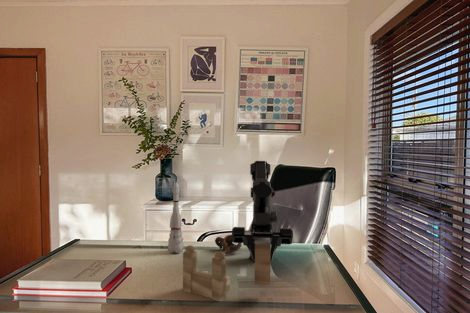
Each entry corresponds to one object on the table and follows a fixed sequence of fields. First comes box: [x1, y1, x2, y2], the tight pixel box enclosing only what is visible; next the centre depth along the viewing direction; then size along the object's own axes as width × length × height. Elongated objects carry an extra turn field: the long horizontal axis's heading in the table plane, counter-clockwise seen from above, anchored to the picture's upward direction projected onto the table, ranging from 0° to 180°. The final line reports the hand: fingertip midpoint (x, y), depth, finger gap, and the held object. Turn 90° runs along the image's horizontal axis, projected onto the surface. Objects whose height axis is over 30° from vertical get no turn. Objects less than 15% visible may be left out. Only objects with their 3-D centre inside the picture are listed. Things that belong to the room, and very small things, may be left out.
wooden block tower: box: [182, 245, 231, 302], centre depth 101 cm, size 8×14×14 cm, turn 59°
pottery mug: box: [214, 234, 243, 256], centre depth 140 cm, size 12×10×8 cm
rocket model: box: [167, 181, 185, 254], centre depth 139 cm, size 7×7×30 cm
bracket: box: [254, 238, 271, 286], centre depth 97 cm, size 5×5×13 cm
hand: (262, 261), depth 96 cm, fingers closed on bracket, 4 cm apart
